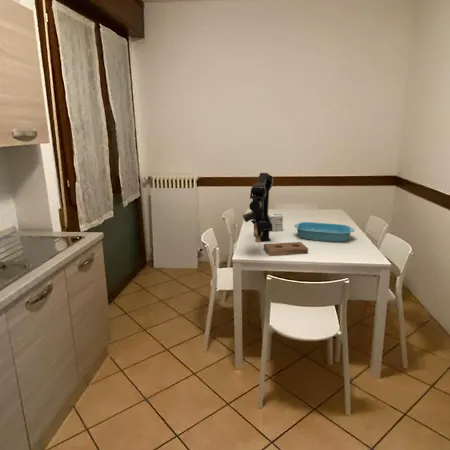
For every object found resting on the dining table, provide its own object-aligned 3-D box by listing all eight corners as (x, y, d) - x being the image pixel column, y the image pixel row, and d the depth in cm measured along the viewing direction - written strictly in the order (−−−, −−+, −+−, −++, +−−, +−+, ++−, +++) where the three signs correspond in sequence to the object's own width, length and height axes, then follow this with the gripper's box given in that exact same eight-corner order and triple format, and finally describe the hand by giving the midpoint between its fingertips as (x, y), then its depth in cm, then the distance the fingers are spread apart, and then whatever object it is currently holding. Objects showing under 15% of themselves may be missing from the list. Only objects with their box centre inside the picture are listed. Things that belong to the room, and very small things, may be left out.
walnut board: (263, 249, 212) (263, 244, 211) (300, 246, 215) (300, 241, 214) (269, 256, 200) (269, 250, 200) (307, 253, 203) (308, 248, 203)
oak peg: (252, 240, 210) (252, 223, 207) (261, 240, 210) (261, 223, 208) (254, 243, 205) (254, 225, 203) (263, 242, 206) (263, 225, 203)
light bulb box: (281, 228, 254) (281, 213, 251) (282, 231, 247) (283, 215, 245) (265, 229, 254) (265, 213, 251) (267, 231, 247) (267, 216, 244)
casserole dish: (353, 234, 238) (354, 224, 236) (354, 245, 217) (355, 233, 215) (296, 230, 249) (296, 220, 247) (291, 240, 228) (292, 229, 227)
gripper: (240, 205, 211) (240, 231, 215) (247, 212, 193) (247, 240, 197) (259, 204, 212) (259, 230, 216) (268, 211, 194) (267, 239, 198)
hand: (258, 234), depth 207 cm, fingers closed on oak peg, 5 cm apart
